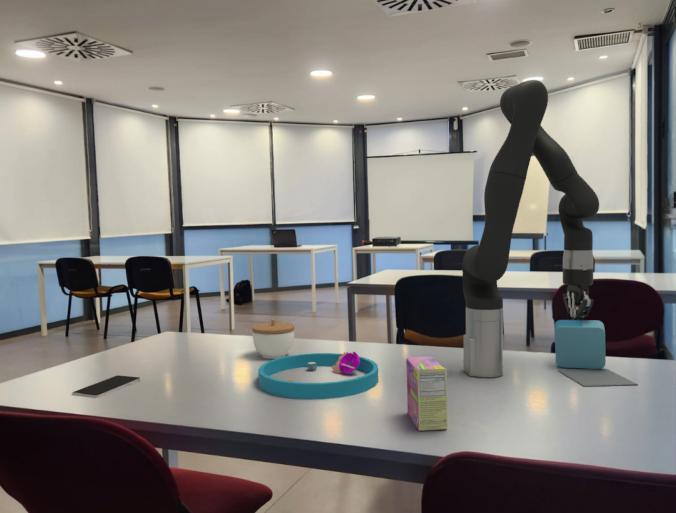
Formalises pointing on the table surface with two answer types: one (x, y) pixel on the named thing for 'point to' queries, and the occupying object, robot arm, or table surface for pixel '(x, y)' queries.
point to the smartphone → (106, 386)
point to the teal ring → (319, 390)
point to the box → (427, 393)
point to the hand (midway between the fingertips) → (577, 331)
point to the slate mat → (596, 377)
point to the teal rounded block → (580, 344)
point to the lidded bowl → (273, 339)
